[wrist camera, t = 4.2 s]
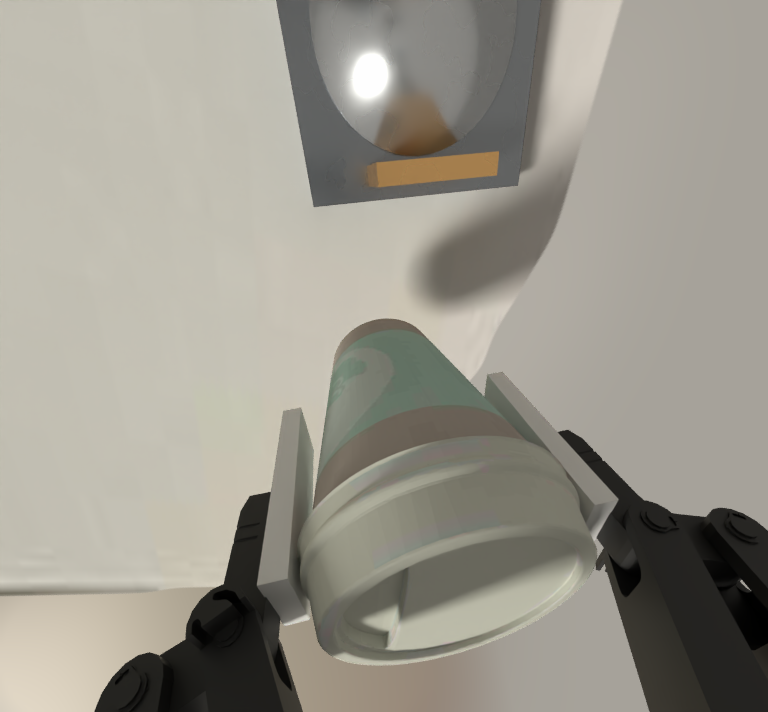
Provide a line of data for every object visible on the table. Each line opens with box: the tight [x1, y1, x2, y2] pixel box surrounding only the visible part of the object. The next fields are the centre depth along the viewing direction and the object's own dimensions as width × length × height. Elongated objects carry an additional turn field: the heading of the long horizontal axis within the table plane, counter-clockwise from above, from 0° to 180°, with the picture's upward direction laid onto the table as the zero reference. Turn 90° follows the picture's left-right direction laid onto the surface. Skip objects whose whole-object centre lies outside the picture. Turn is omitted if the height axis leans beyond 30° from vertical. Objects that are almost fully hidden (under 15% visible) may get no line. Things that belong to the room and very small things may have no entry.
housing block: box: [276, 0, 541, 207], centre depth 14 cm, size 14×13×6 cm
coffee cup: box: [297, 319, 597, 665], centre depth 13 cm, size 8×9×12 cm
